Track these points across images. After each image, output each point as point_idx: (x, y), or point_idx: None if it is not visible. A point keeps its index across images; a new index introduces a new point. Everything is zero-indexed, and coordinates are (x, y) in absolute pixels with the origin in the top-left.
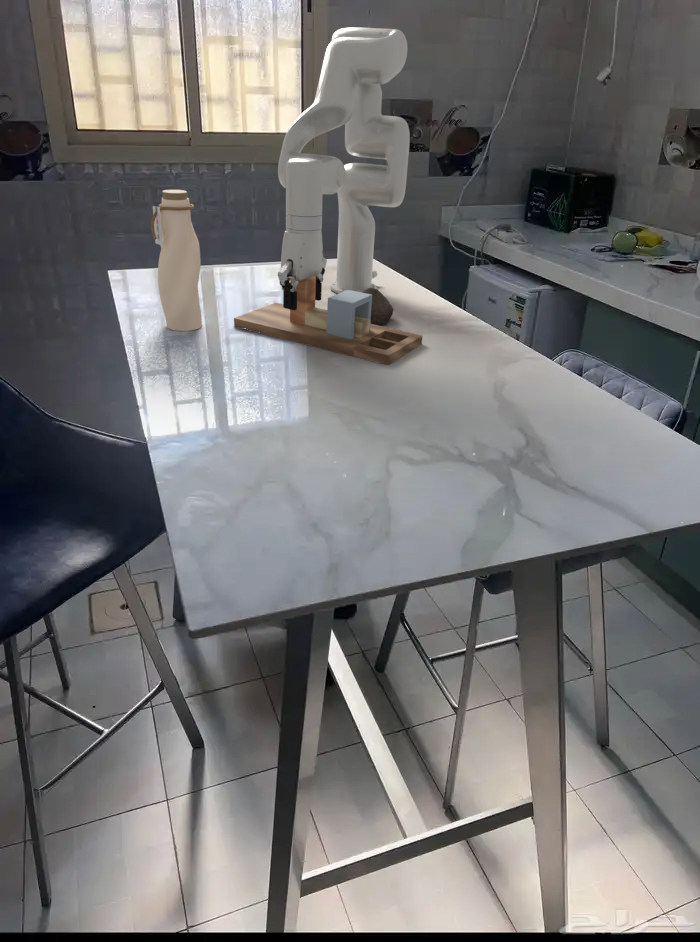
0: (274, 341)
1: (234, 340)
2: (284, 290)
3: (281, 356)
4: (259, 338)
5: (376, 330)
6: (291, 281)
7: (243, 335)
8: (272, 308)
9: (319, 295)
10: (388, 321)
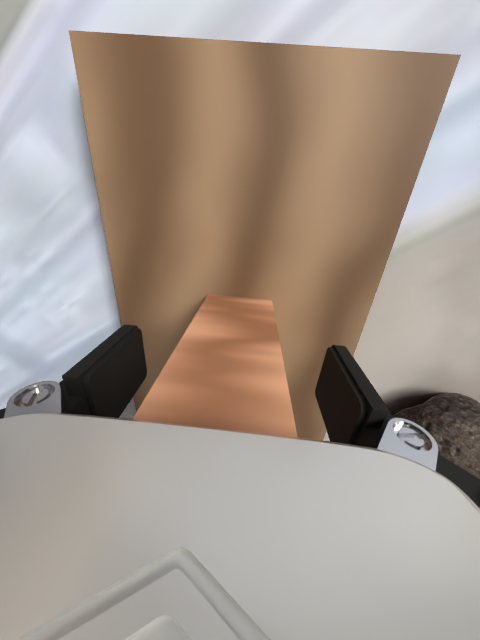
0: (102, 297)
1: (6, 184)
2: (67, 380)
3: (44, 359)
4: (86, 246)
5: None
6: (144, 411)
7: (62, 178)
8: (331, 119)
9: (322, 408)
10: None
